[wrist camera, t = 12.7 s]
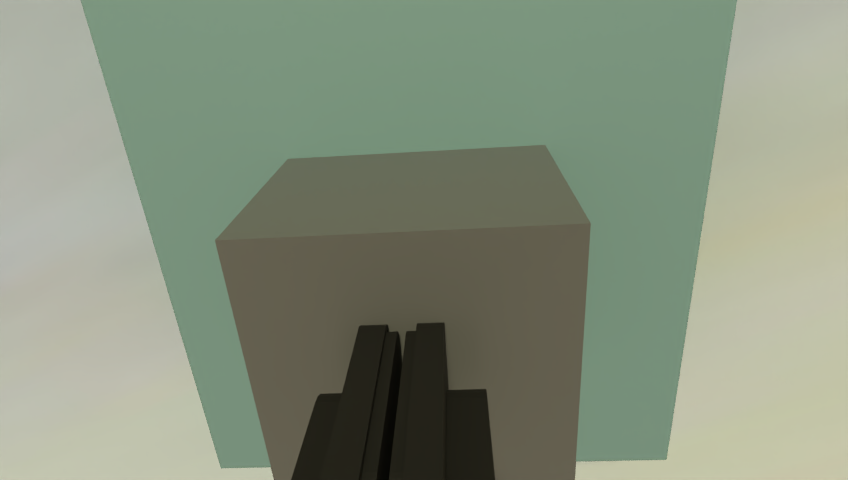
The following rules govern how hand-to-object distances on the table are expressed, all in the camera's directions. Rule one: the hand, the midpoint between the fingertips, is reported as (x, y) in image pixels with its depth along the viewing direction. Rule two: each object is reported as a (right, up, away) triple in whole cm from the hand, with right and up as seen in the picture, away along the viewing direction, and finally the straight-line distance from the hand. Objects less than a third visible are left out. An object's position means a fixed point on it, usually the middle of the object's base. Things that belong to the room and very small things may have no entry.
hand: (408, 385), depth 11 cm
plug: (0, +4, +8) cm, 9 cm away
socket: (0, +4, +9) cm, 10 cm away
